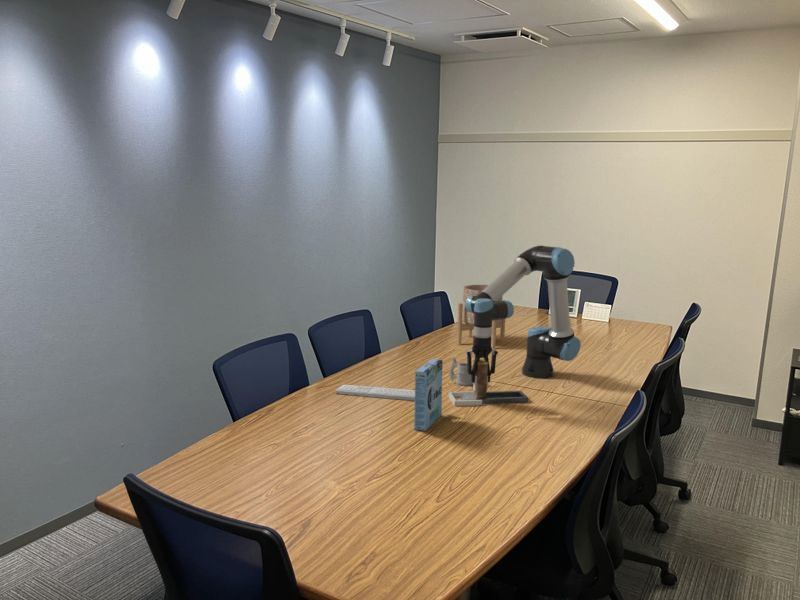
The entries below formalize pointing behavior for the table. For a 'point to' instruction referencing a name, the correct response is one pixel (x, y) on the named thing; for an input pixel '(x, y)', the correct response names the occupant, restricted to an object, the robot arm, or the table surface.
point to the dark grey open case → (505, 397)
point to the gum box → (428, 394)
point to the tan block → (481, 379)
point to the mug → (461, 374)
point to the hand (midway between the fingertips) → (480, 389)
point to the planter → (469, 317)
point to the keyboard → (377, 392)
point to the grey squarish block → (465, 396)
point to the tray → (463, 402)
